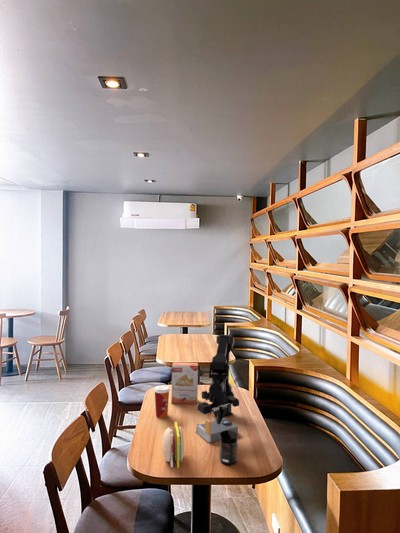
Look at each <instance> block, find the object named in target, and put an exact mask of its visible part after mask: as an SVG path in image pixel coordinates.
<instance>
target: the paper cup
mask: <svg viewBox="0 0 400 533" xmlns="http://www.w3.org/2000/svg"><path fill="white" fill-rule="evenodd" d="M170 391H171V390H170V387H169V386H168V385H163V384H162V385H157V386H155V387H154V390H153V392H154V399H155V400H154V401H155V417H156V418H159V419H165V418H167V417H168V414H169V412H168V411H169V398H170Z"/></svg>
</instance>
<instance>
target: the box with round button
mask: <svg viewBox="0 0 400 533" xmlns="http://www.w3.org/2000/svg"><path fill="white" fill-rule="evenodd" d="M210 421H211V420H210ZM199 425H200V426H202V427H203V428H204V429H205V422H204V423H200V424H199ZM238 429H239V426H238V425H236V424H235V423H234V422H233V421H231V420H230V419H227V418H226V417H223V419H222V421H221V423H220V424H217V422H216V419H215V420H212V421H211V442H210V443H214V442H217V441H220V433H221V432H223V431H227V430H229V431H234V432H236V433H237V435H239V432H238V431H239V430H238Z"/></svg>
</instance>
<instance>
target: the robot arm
mask: <svg viewBox="0 0 400 533" xmlns="http://www.w3.org/2000/svg"><path fill="white" fill-rule="evenodd" d="M215 340H216V345H217V349H216V355H214V356H213V357H212V359H211V362H210V363H209V371H208V372H209V373H208V378H209V379H211V383H210V385H209V388H208V391H207V390H204V391H201V399H202V400H205V401H204V402H200V403H197V406H196V407H197V409H196V410H197V411H198V412H200V413H201V414H202V415H209V414H211V413H213V416H214V419H215V420H216V422H217V424H220V423H221V421H222V419H223V418H226V417H229V416H233V415H234V413H233V412H232V407H234V408H235V407H238V406H240V400H239V399H238V398H237V397H235V394H234V391H233V390H232V389H233V387H232V385H231V383H230V352H232V349H233V346H234V345H235V337H234V336H232V335H231V334H229V335H228V334H219V335H217V336H216V339H215ZM206 401H208V402H210V403H208V402H206Z"/></svg>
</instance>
